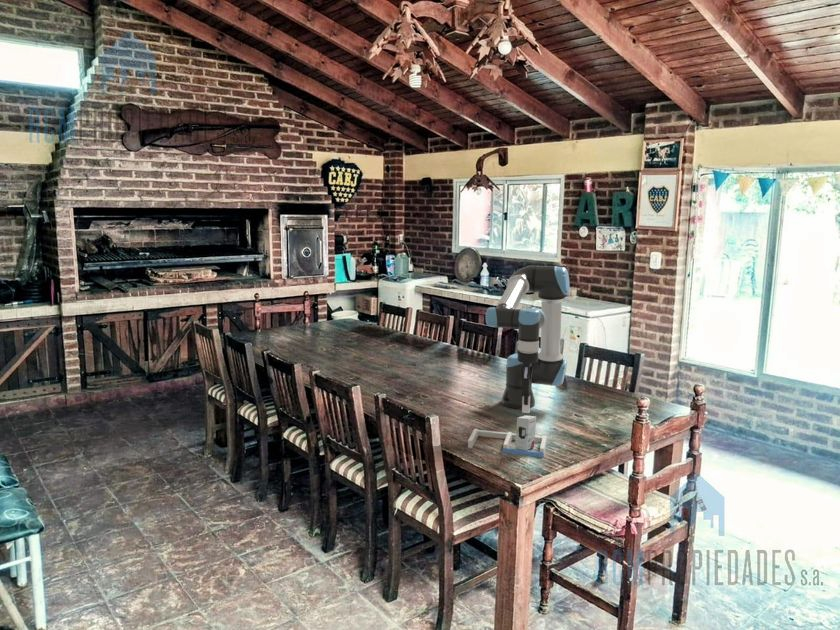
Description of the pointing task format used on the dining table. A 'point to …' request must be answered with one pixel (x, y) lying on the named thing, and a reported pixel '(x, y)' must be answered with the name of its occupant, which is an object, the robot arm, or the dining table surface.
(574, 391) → the dining table surface
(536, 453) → the white and blue frame
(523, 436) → the ink box
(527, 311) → the robot arm
